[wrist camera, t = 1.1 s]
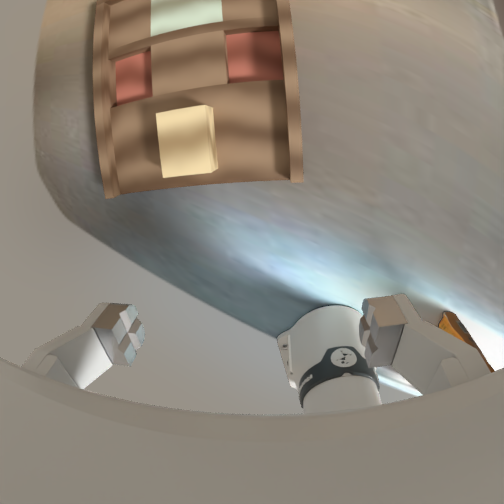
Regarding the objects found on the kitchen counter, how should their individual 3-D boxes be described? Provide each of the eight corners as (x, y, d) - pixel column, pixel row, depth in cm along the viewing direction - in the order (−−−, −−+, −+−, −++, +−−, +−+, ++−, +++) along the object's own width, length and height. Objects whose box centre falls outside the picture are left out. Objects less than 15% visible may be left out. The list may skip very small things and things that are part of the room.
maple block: (218, 168, 34) (211, 172, 30) (174, 172, 35) (162, 178, 31) (212, 107, 31) (205, 104, 27) (168, 114, 31) (155, 113, 28)
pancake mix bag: (459, 295, 41) (532, 399, 16) (465, 348, 47) (512, 437, 22) (432, 312, 43) (497, 428, 18) (443, 363, 49) (484, 456, 24)
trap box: (300, 176, 36) (303, 182, 32) (120, 191, 39) (105, 199, 35) (281, -29, 22) (281, -44, 18) (111, 7, 25) (96, -1, 21)
